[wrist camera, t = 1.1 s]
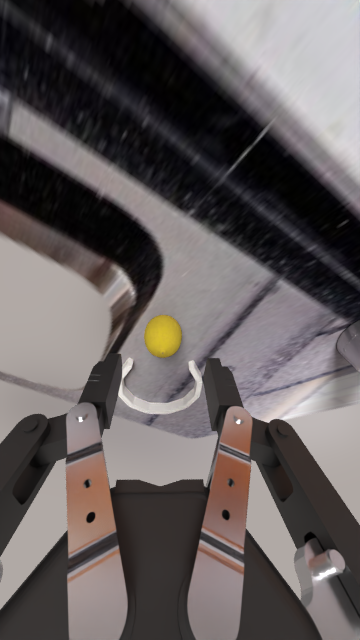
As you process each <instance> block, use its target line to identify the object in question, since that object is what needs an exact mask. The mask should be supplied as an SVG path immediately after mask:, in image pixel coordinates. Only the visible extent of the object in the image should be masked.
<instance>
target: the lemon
mask: <svg viewBox="0 0 360 640" xmlns="http://www.w3.org/2000/svg"><path fill="white" fill-rule="evenodd" d="M144 339H145V344H146V347H147V349H148V350H149V352H150V353H151V354H153V355H154V356H157V357H161V358H165V357H169V356H171V355H173V354H174V353H176V351H177V350H178V349H179V346H180V344H181V340H182V332H181V328H180V325H179V324H178V322H177V321H176V320H175V319H174V318H172V317H170V316H167V315H159V316H156V317H154V318H153V319H151V321H150V322H149V323H148V324H147V327H146V329H145V334H144Z"/></svg>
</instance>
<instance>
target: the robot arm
mask: <svg viewBox="0 0 360 640" xmlns="http://www.w3.org/2000/svg"><path fill="white" fill-rule="evenodd" d="M337 349H338V351H339V353H340V354H341V355H342V356H343V357H344V358H345V359H346V360H347V361H348V362H349V363H350V364H351V365H352V366H353V367H354V368H355V369H356V370H357V371H358V372H359V373H360V320H359V321H357V322H355V323H354V324H352V325H351V326H349V327H348V328H347V329H346V330H345V331H344V332H343V333H342V335H341V336H340V338H339V340H338V343H337ZM121 380H122V359H121V354H108V356H107V359H106V361H105V362H102V361H99V362H98V363H97V364H96V365H95V366H94V367H93V369H92V371H91V374H90V376H89V379H88V381H87V383H86V386H85V388H84V390H83V393H82V395H81V397H80V400H79V402H78V404H77V405H75V406H74V407H72V408H71V409H70V410H69V412H68V413H67V414H64V415H61V416H57V417H54V418H49V419H47V418H46V417H45V416H44V415H42V414H33V415H30V416H27V417H25V418H24V419H22V420H21V421H20V422H19V423H18V424H17V425H16V426H15V427H14V429H13V430H12V431H11V432H10V433H9V434H8V436H7V437H6V438H5V439H4V440H3V441H2V443H1V444H0V556H1V555H2V553H3V551H4V549H5V548H6V546H7V544H8V543H9V541H10V539H11V538H12V536H13V534H14V533H15V531H16V529H17V527H18V526H19V524H20V522H21V521H22V519H23V517H24V515H25V514H26V512H27V510H28V509H29V507H30V505H31V503H32V502H33V500H34V498H35V497H36V495H37V493H38V491H39V490H40V488H41V487H42V485H43V483H44V481H45V480H46V478H47V476H48V475H49V473H50V471H51V470H52V468H53V466H54V464H55V463H56V461H58V460H61V459H64V458H66V491H67V522H68V523H67V524H68V530H67V531H66V532H65V533H64V535H63V536H62V537H61V538H60V539H59V541H58V542H57V543H56V544H55V546H54V547H53V548H52V549H51V550H50V551H49V552H48V554H47V555H46V556H45V557H44V558H43V560H42V561H41V562H40V563H39V564H38V566H37V567H36V568H35V569H34V570H33V572H32V573H31V574H30V575H29V576H28V577H27V579H26V580H25V581H24V582H23V583H22V585H21V586H20V587H19V588H18V590H17V591H16V592H15V593H14V594H13V595H12V597H11V598H10V599H9V600H8V602H6V604H5V605H4V606H3V608H2V609H1V610H0V640H360V525H359V524H358V522H357V521H356V519H355V518H354V516H353V515H352V513H351V512H350V510H349V509H348V508H347V506H346V505H345V503H344V502H343V500H342V499H341V497H340V496H339V494H338V493H337V491H336V490H335V489H334V487H333V486H332V484H331V483H330V481H329V480H328V478H327V477H326V476H325V474H324V473H323V471H322V470H321V468H320V467H319V465H318V464H317V462H316V461H315V459H314V458H313V456H312V455H311V454H310V452H309V451H308V449H307V448H306V446H305V445H304V443H303V442H302V440H301V439H300V438H299V436H298V435H297V433H296V432H295V430H294V429H293V428H292V426H291V425H289V424H288V423H287V422H285V421H283V420H280V419H274V420H271V421H270V423H267V422H264V421H261V420H258V419H255V418H253V417H252V416H251V415H250V413H249V412H248V411H247V410H245V409H244V407H243V404H242V401H241V398H240V395H239V392H238V389H237V386H236V383H235V381H234V377H233V374H232V372H231V371H230V370H229V368H228V367H222V365H221V362H220V359H219V358H208V359H207V362H206V367H205V372H204V388H205V394H206V400H207V405H208V411H209V417H210V423H211V429H212V431H217V432H218V440H217V443H216V448H215V452H214V456H213V460H212V465H211V469H210V473H209V476H208V480H207V484H206V487H205V486H204V484H203V479H202V480H201V479H200V480H180V481H176V482H173V483H170V484H168V485H164V486H156V485H153V484H150V483H147V482H144V481H141V480H117V481H116V487H113V488H111V489H110V485H109V479H108V474H107V468H106V462H105V457H104V451H103V445H102V439H101V438H102V434H103V431H104V429H110V425H111V421H112V416H113V413H114V409H115V405H116V401H117V397H118V393H119V389H120V384H121ZM251 460H254V461H256V463H257V465H258V467H259V469H260V472H261V474H262V476H263V478H264V480H265V482H266V484H267V486H268V488H269V491H270V493H271V495H272V497H273V499H274V501H275V503H276V505H277V508H278V510H279V512H280V514H281V516H282V518H283V520H284V523H285V525H286V527H287V529H288V531H289V533H290V535H291V537H292V539H293V541H294V544H295V546H296V548H297V551H296V553H295V557H294V564H295V570H296V573H297V575H298V579H299V582H300V586H301V601H300V600H299V598H298V597H297V596H296V594H295V593H294V592H293V590H292V589H291V588H290V586H289V585H288V584H287V582H286V581H285V580H284V578H283V577H282V576H281V574H280V573H279V572H278V570H277V569H276V568H275V566H274V565H273V564H272V562H271V561H270V560H269V558H268V557H267V556H266V554H265V553H264V552H263V550H262V549H261V548H260V546H259V545H258V544H257V542H256V541H255V540H254V538H253V537H252V536H251V534H250V533H249V532H248V530H247V529H246V518H247V506H248V495H249V484H250V473H251ZM2 573H3V566H2V562H1V560H0V581H1V578H2Z"/></svg>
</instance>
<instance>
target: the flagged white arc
mask: <svg viewBox="0 0 360 640" xmlns="http://www.w3.org/2000/svg"><path fill="white" fill-rule="evenodd" d="M132 365H133V359H131V358H128V359H127V360H126V362H125V363H124V364H123V366H122V380H121V384H120V389H119V393H118V395H119V397H120V398H121V399H122V400H123V401H124V402H125V403H126V404H127V405H128V406H130V407H131V408H134V409H136V410H139V411H142V412H144V413H148V412H149V414H167V412H168V413H169V414H171V413H174V412H177V411H180V410H183V409H186V408H188V407H189V406H190V405H191V404H192V403H193V402H194V401H195V400H197V399H198V398H199V396H200V392H201V387H202V377H201V373H200V371H199V369H198V367H197V366H196V364H195V362H194V360H193V361H190V362H189V370H190V372H191V373H192V375H193V377H194V378H195V384H194V388H193V389H192V390H191V391H190V392H189V393H188V394H187V395H186V396H184V397H183V398H181V399H178V400H175V401H172V402H169V403H150V402H147V401H145V400H142V399H140V398H137V397H135V396H134V395H133V394H132V393H131V392H130V391H129V390H128V389H127V388H126V386H125V383H124V377H125V376H126V374H127V373H128V372H129V371H130V369H131V368H132Z"/></svg>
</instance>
